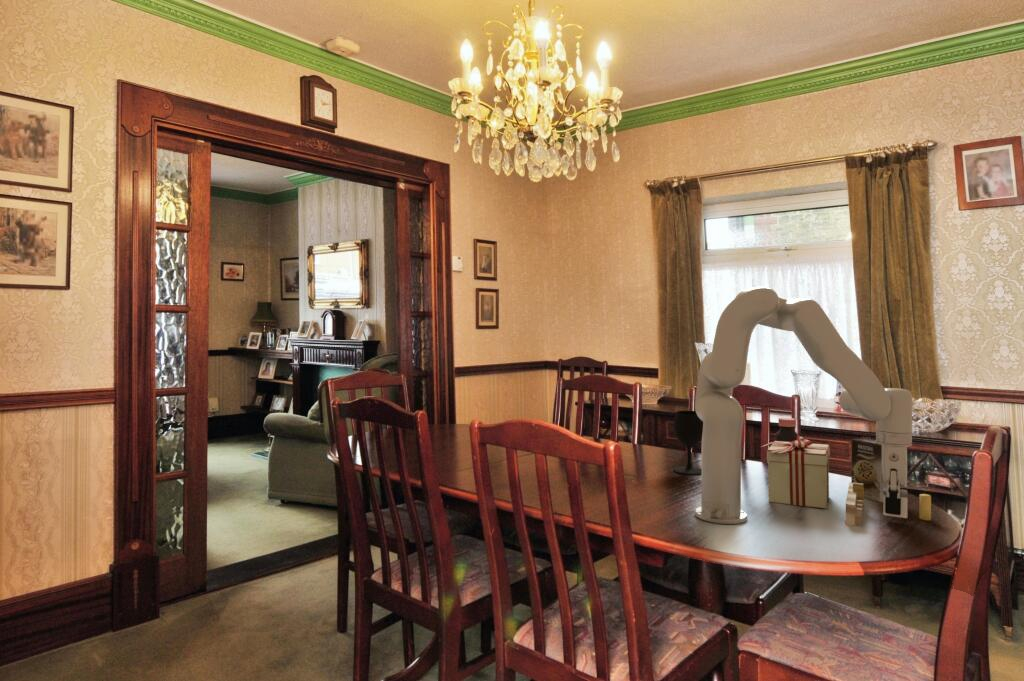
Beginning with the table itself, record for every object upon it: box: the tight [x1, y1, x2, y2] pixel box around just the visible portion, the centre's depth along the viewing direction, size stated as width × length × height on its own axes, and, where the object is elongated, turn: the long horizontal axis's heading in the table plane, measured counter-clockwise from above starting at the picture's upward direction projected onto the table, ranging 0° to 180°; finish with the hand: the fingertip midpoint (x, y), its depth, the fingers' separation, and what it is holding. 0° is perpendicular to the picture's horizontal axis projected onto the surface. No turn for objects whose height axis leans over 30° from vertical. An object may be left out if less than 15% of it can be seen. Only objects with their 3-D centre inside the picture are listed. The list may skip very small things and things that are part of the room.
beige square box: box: [882, 487, 909, 519], centre depth 149 cm, size 4×5×6 cm
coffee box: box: [850, 437, 887, 503], centre depth 171 cm, size 9×6×16 cm
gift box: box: [760, 435, 831, 510], centre depth 169 cm, size 17×18×17 cm
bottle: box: [774, 417, 800, 442], centre depth 187 cm, size 7×7×20 cm
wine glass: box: [672, 410, 703, 476], centre depth 202 cm, size 10×10×20 cm
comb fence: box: [844, 482, 865, 527], centre depth 157 cm, size 24×4×7 cm, turn 148°
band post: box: [918, 493, 932, 521], centre depth 151 cm, size 2×2×6 cm
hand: (892, 510), depth 149 cm, fingers closed on beige square box, 4 cm apart
